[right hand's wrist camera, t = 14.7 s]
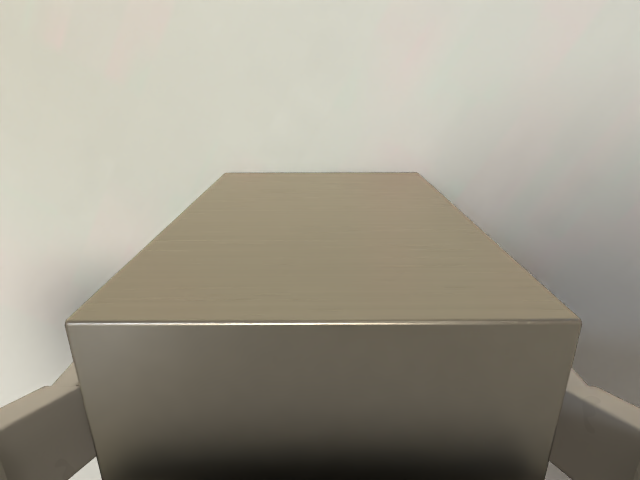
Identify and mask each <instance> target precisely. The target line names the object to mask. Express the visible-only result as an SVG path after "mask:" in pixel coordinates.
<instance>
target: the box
mask: <svg viewBox="0 0 640 480" xmlns="http://www.w3.org/2000/svg"><path fill="white" fill-rule="evenodd" d="M581 326H582V322H581V319H580V318H579V317H578V316H577V315H575V314H574V313H573V312H572V311H571V310H570V309H569V308H568V307H566V306H565V305H564V304H563V303H562V302H561V301H560V300H559V299H558V298H556V297H555V296H554V295H553V294H552V293H551V292H550V291H549V290H548V289H546V288H545V287H544V286H543V285H542V284H541V283H540V282H539V281H538V280H536V279H535V278H534V277H533V276H532V275H531V274H530V273H529V272H528V271H526V270H525V269H524V268H523V267H522V266H521V265H520V264H519V263H518V262H516V261H515V260H514V259H513V258H512V257H511V256H510V255H509V254H508V253H506V252H505V251H504V250H503V249H502V248H501V247H500V246H499V245H498V244H496V243H495V242H494V241H493V240H492V239H491V238H490V237H489V236H487V235H486V234H485V233H484V232H483V231H482V230H481V229H480V228H479V227H477V226H476V225H475V224H474V223H473V222H472V221H471V220H470V219H469V218H467V217H466V216H465V215H464V214H463V213H462V212H461V211H460V210H459V209H457V208H456V207H455V206H454V205H453V204H452V203H451V202H450V201H449V200H447V199H446V198H445V197H444V196H443V195H442V194H441V193H440V192H439V191H437V190H436V189H435V188H434V187H433V186H432V185H431V184H430V183H429V182H427V181H426V180H425V179H424V178H423V177H422V176H421V175H420V174H419V173H225V174H223V175H222V176H221V177H220V178H219V179H218V180H217V181H216V182H215V183H214V184H213V185H211V186H210V187H209V188H208V189H207V190H206V191H205V192H204V193H203V194H202V195H201V196H200V197H199V198H197V199H196V200H195V201H194V202H193V203H192V204H191V205H190V206H189V207H188V208H187V209H186V210H184V211H183V212H182V213H181V214H180V215H179V216H178V217H177V218H176V219H175V220H174V221H173V222H172V223H170V224H169V225H168V226H167V227H166V228H165V229H164V230H163V231H162V232H161V233H160V234H159V235H157V236H156V237H155V238H154V239H153V240H152V241H151V242H150V243H149V244H148V245H147V246H146V247H145V248H143V249H142V250H141V251H140V252H139V253H138V254H137V255H136V256H135V257H134V258H133V259H132V260H131V261H129V262H128V263H127V264H126V265H125V266H124V267H123V268H122V269H121V270H120V271H119V272H118V273H116V274H115V275H114V276H113V277H112V278H111V279H110V280H109V281H108V282H107V283H106V284H105V285H104V286H102V287H101V288H100V289H99V290H98V291H97V292H96V293H95V294H94V295H93V296H92V297H91V298H89V299H88V300H87V301H86V302H85V303H84V304H83V305H82V306H81V307H80V308H79V309H78V310H77V311H75V312H74V313H73V314H72V315H71V316H70V317H69V318H68V319H67V320H66V322H65V328H66V332H67V336H68V341H69V345H70V349H71V353H72V357H73V361H74V366H75V370H76V374H77V378H78V382H79V386H80V390H81V395H82V399H83V403H84V407H85V411H86V415H87V419H88V424H89V428H90V432H91V436H92V440H93V444H94V448H95V453H96V457H97V461H98V465H99V469H100V473H101V478H102V480H544V479H545V475H546V471H547V466H548V462H549V458H550V454H551V450H552V446H553V442H554V438H555V433H556V429H557V425H558V421H559V417H560V413H561V409H562V404H563V400H564V396H565V392H566V388H567V384H568V380H569V376H570V371H571V367H572V363H573V359H574V355H575V351H576V347H577V342H578V338H579V334H580V330H581Z"/></svg>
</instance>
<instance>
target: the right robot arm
mask: <svg viewBox="0 0 640 480" xmlns="http://www.w3.org/2000/svg"><path fill="white" fill-rule="evenodd" d="M95 457H96V453H95V448H94V444H93V440H92V436H91V432H90V428H89V424H88V419H87V415H86V411H85V407H84V403H83V399H82V395H81V390H80V386H79V382H78V378H77V374H76V370H75V366H74V362H73V363H72V364H71V365H70V366H69V367H68V368H67V369H66V370H65V371H64V373H63V374H62V375H61V376H60V377H59V378H58V379H57V380H56V381H55V383H54V384H53V385H52V386H44V387H42V388H40V389H38V390H36V391H34V392H32V393H30V394H28V395H26V396H24V397H22V398H20V399H18V400H16V401H14V402H12V403H10V404H8V405H5V406H3V407H1V408H0V480H68V479H69V478H71V477H72V476H73V475H74V474H75V473H77V472H78V471H79V470H80V469H81V468H83V467H84V466H85V465H86V464H87V463H89V462H90V461H91V460H92V459H93V458H95ZM549 461H550V462H552V463H553V464H554V465H555V466H556V467H558V468H559V469H560V470H561V471H562V472H564V473H565V474H566V475H567V476H568V477H570V478H571V479H572V480H640V408H638V407H636V406H634V405H632V404H630V403H628V402H626V401H624V400H622V399H620V398H618V397H616V396H614V395H612V394H610V393H608V392H606V391H604V390H602V389H600V388H598V387H596V386H588V385H587V384H586V383H585V381H584V380H583V379H582V378H581V377H580V376H579V375H578V374H577V373H576V372H575V370H574V369H573V368H572V367H571V371H570V376H569V380H568V384H567V388H566V392H565V396H564V400H563V404H562V409H561V413H560V417H559V421H558V425H557V429H556V433H555V438H554V442H553V446H552V450H551V454H550V458H549Z"/></svg>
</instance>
